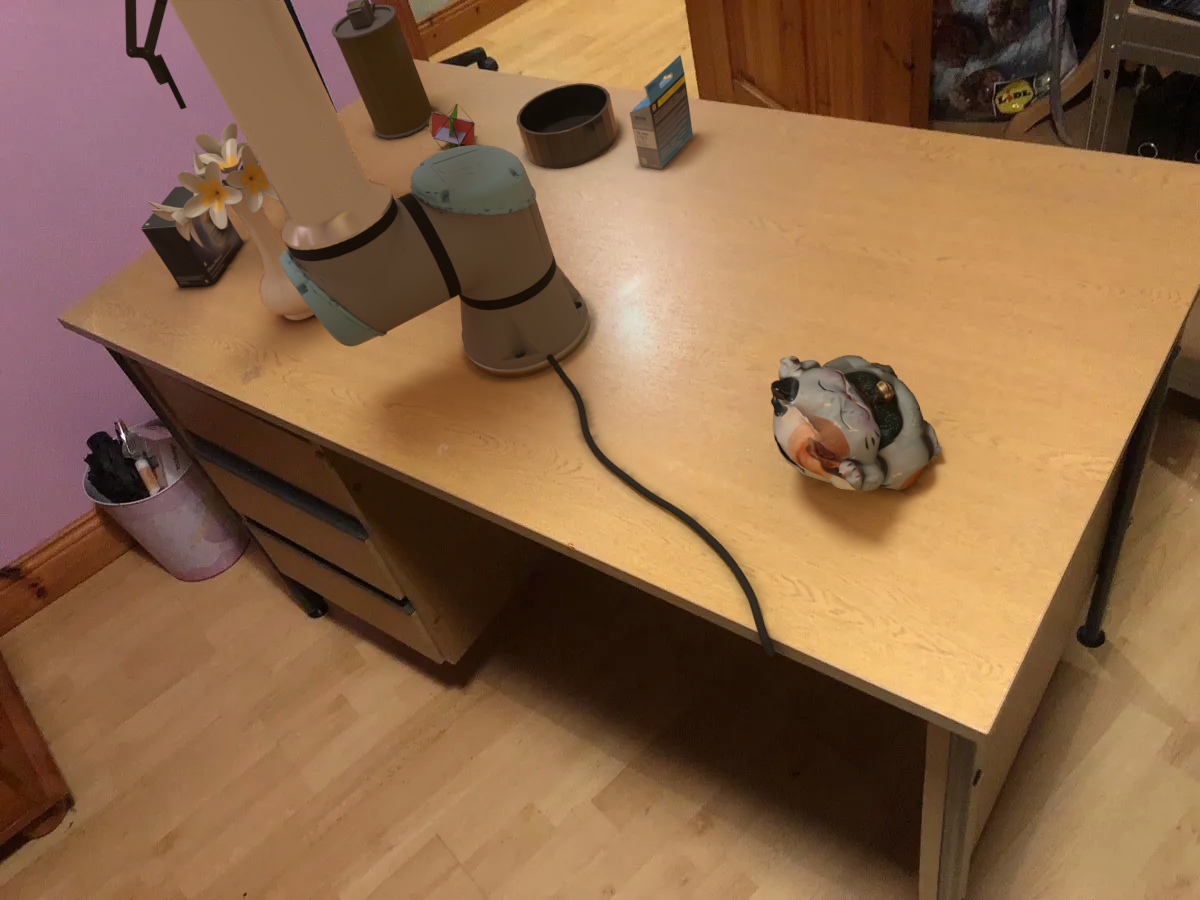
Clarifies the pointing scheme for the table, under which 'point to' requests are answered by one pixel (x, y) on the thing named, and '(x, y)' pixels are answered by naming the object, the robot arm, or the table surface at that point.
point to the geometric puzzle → (452, 128)
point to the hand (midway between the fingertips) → (234, 90)
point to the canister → (383, 69)
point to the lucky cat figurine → (850, 424)
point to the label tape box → (662, 117)
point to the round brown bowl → (567, 125)
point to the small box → (192, 244)
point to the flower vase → (247, 203)
